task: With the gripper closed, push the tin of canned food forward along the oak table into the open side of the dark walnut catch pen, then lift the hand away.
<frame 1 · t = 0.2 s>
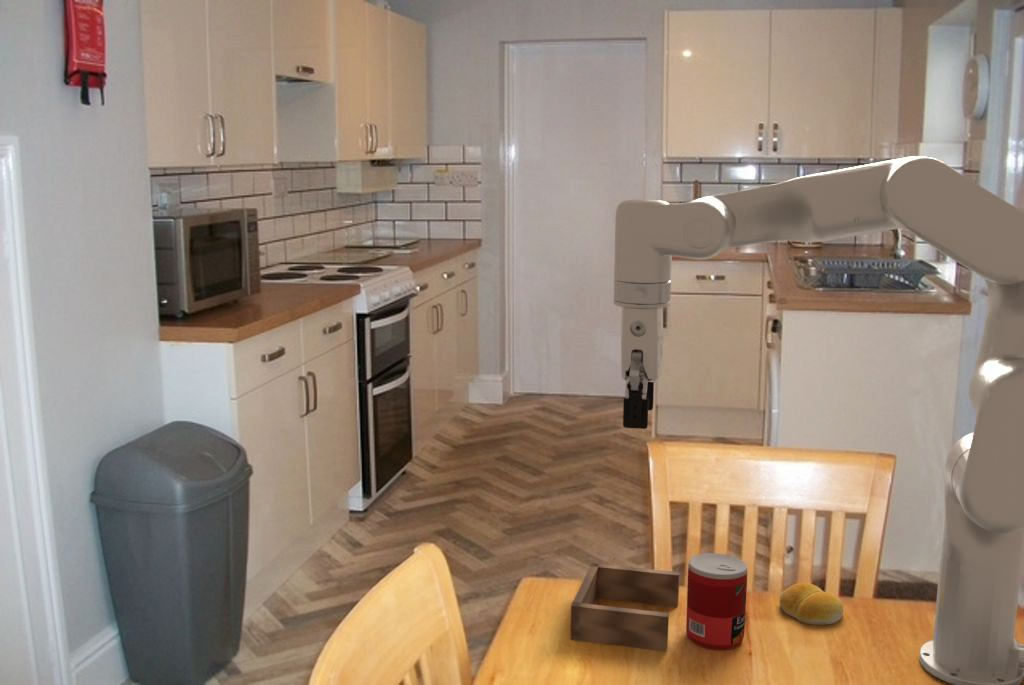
hand: (638, 418, 144), 31 cm above the table, tool pointing down, fingers open, 9 cm apart
bread roll: (810, 614, 155), on the table
canned food: (714, 639, 147), on the table
catch pen: (630, 621, 151), on the table
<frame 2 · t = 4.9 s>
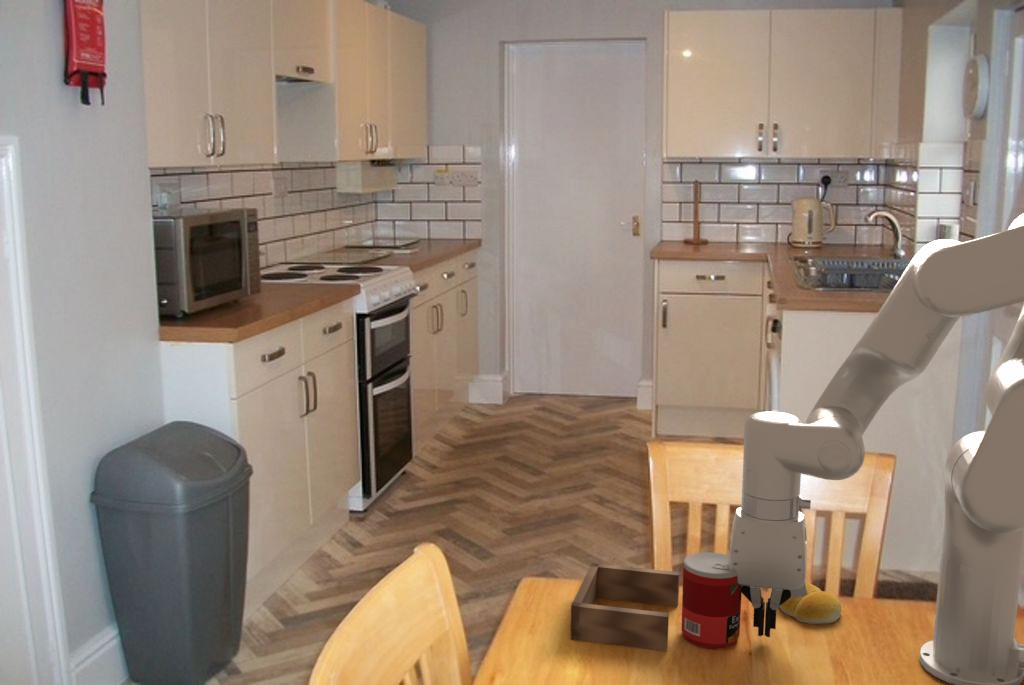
hand: (764, 631, 145), 2 cm above the table, tool pointing down, fingers closed
canned food: (709, 638, 147), on the table, touching gripper
everything else where it was.
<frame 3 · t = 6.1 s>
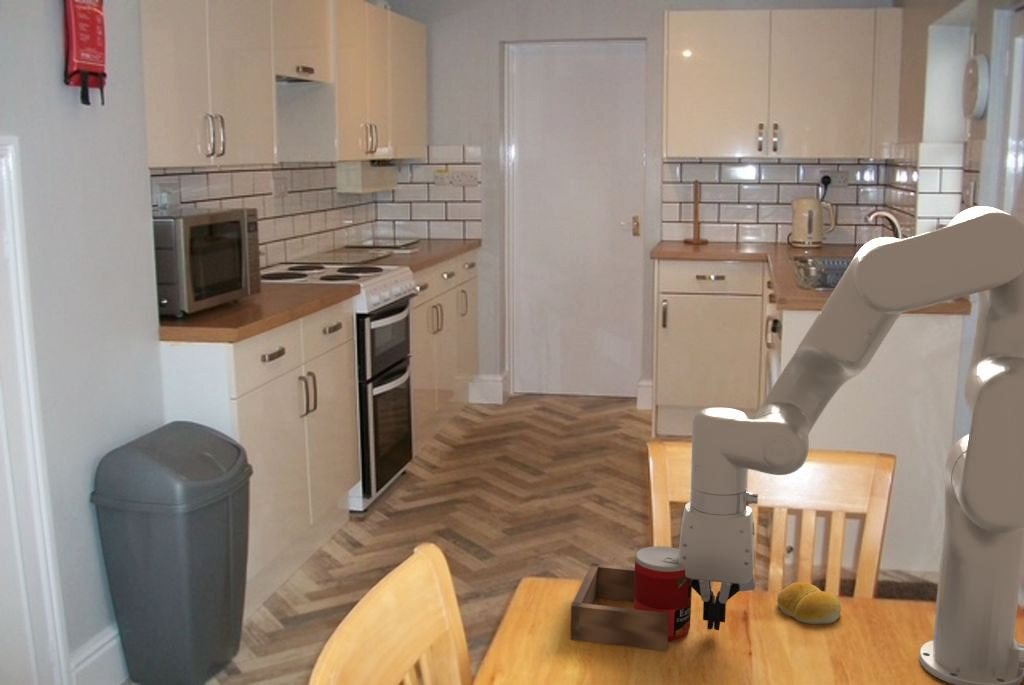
hand: (713, 625, 147), 2 cm above the table, tool pointing down, fingers closed
canned food: (661, 631, 149), on the table, touching gripper
everything else where it was.
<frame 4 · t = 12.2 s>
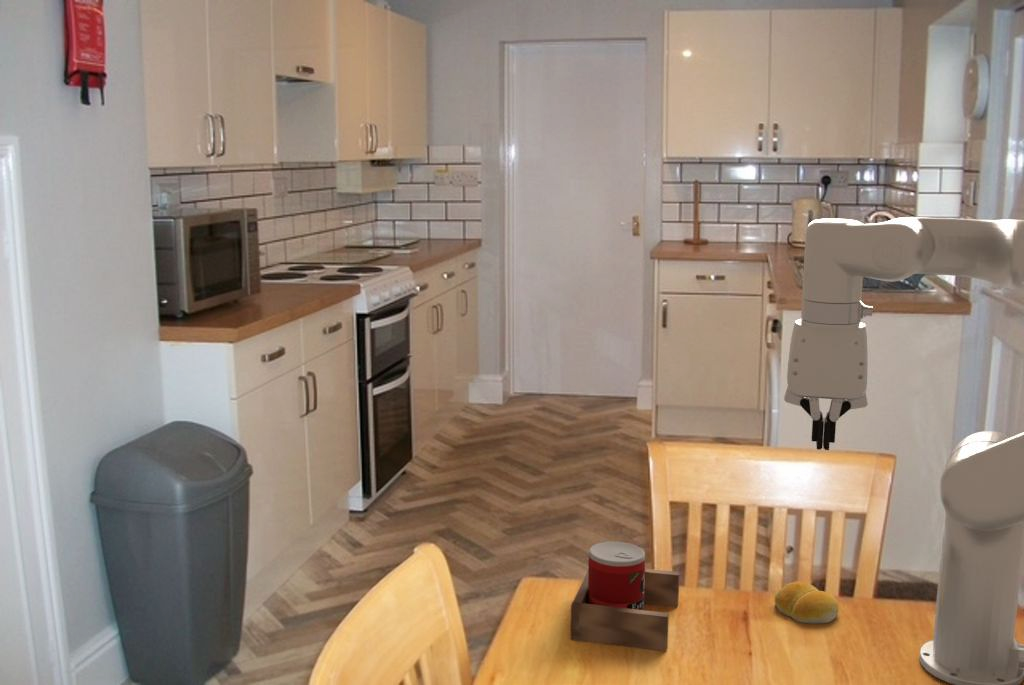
hand: (822, 446, 143), 27 cm above the table, tool pointing down, fingers closed
canned food: (615, 625, 151), on the table
everything else where it was.
at the end: canned food inside the target area on the catch pen (2.4 cm from its centre), point 0.0 cm above the catch pen's base; canned food tilted 0°; canned food touching table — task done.
